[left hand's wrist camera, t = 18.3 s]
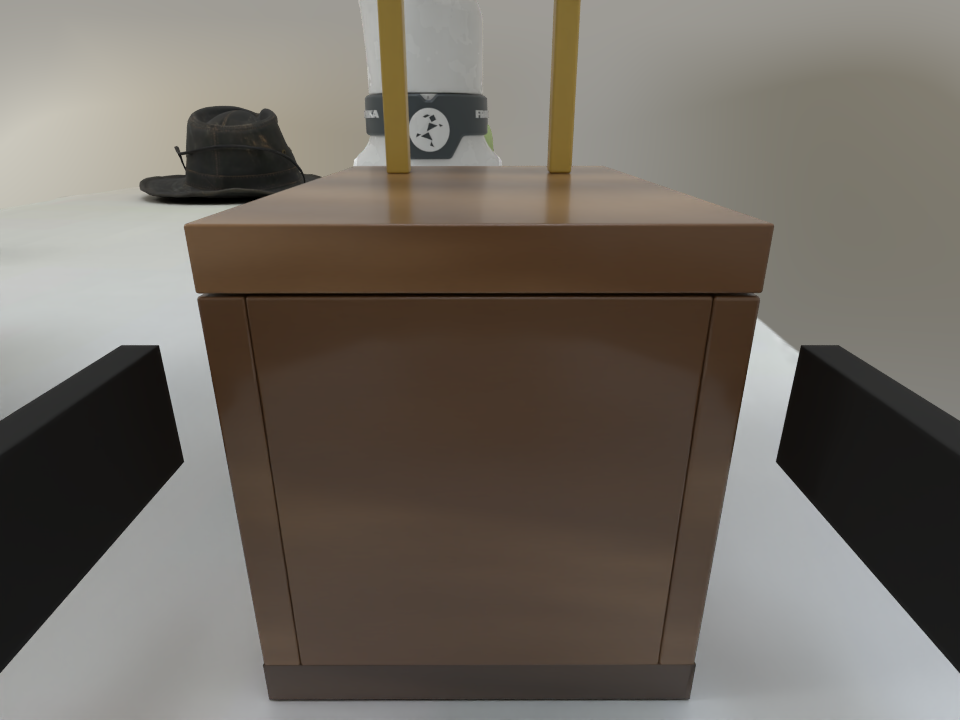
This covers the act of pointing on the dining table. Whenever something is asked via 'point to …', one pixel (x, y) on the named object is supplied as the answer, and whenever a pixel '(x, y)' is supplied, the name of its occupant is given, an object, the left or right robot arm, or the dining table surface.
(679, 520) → the chest
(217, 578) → the dining table surface
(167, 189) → the hat
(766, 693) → the dining table surface
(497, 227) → the lid
